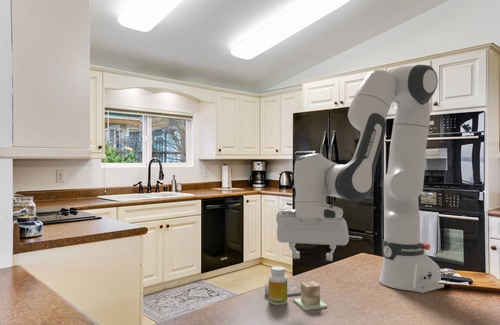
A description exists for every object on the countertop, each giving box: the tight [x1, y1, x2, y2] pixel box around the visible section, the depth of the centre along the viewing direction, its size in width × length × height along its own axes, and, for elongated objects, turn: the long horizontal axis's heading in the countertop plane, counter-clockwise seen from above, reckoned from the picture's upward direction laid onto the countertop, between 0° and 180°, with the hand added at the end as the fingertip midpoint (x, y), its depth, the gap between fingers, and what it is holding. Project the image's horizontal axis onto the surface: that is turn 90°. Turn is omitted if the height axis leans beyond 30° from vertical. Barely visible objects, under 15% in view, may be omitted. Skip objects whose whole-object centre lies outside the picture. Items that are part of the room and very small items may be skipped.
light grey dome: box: [264, 281, 269, 298], centre depth 108 cm, size 5×5×3 cm
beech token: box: [300, 281, 321, 305], centre depth 101 cm, size 4×4×5 cm
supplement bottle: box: [268, 265, 288, 306], centre depth 102 cm, size 5×5×10 cm
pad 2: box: [293, 297, 328, 311], centre depth 101 cm, size 7×7×1 cm
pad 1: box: [287, 284, 301, 297], centre depth 111 cm, size 7×7×1 cm
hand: (312, 259), depth 101 cm, fingers open, 8 cm apart
